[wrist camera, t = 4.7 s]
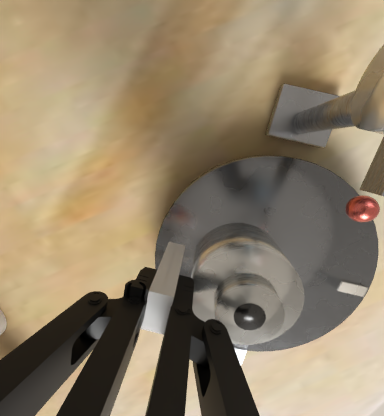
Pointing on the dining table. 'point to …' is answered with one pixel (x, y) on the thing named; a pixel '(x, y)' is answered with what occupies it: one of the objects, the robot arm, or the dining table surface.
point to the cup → (2, 322)
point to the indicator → (337, 125)
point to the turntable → (284, 234)
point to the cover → (245, 284)
